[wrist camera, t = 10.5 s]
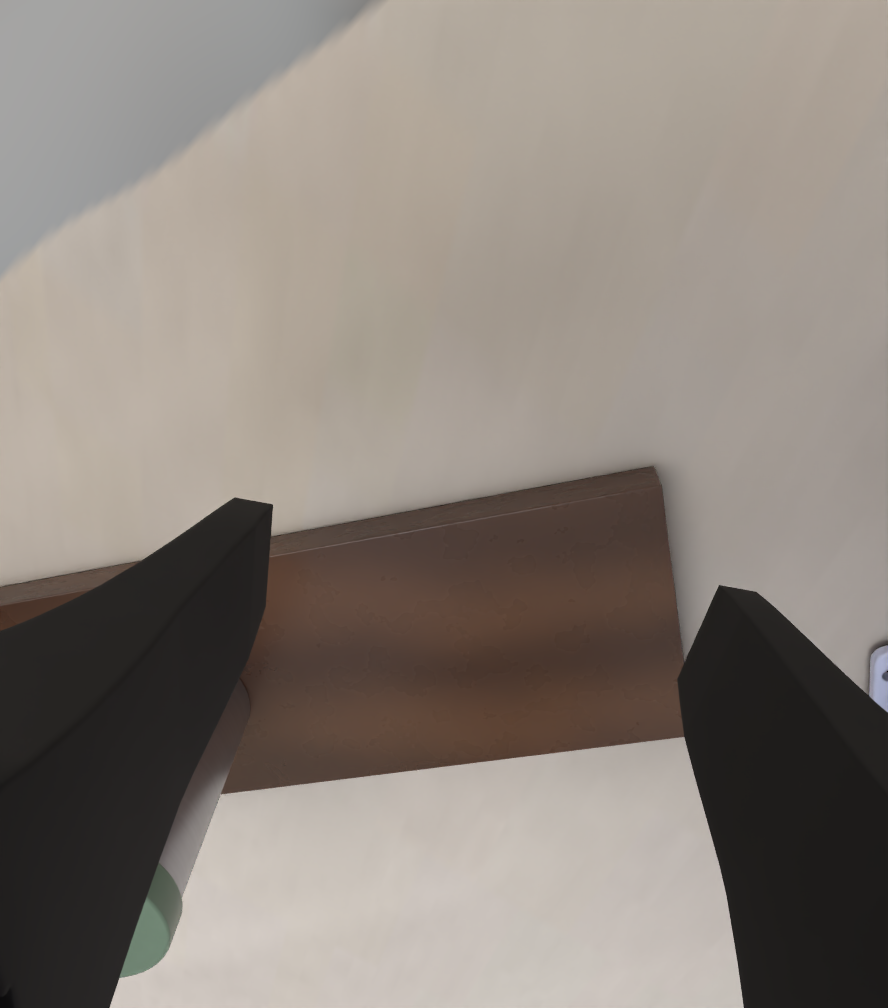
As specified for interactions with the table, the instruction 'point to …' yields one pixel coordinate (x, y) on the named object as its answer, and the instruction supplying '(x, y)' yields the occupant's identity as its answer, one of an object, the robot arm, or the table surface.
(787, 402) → the table surface
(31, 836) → the robot arm
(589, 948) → the table surface
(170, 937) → the tin
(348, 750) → the board
